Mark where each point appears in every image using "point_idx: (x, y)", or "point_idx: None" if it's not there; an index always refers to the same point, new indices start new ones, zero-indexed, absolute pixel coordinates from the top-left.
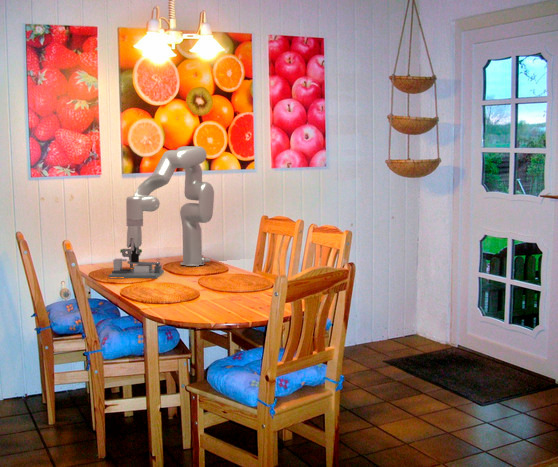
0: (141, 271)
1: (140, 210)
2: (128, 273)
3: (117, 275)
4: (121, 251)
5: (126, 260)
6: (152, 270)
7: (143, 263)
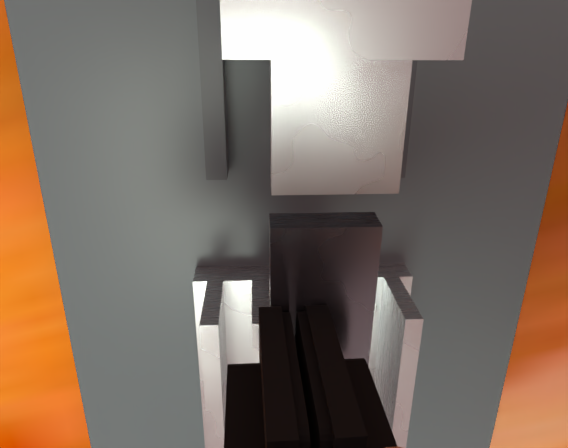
0: (199, 373)
1: None
2: (193, 193)
3: (20, 61)
4: None
5: (375, 185)
6: (421, 414)
7: None
